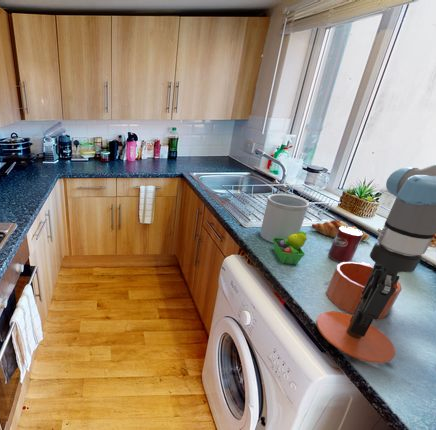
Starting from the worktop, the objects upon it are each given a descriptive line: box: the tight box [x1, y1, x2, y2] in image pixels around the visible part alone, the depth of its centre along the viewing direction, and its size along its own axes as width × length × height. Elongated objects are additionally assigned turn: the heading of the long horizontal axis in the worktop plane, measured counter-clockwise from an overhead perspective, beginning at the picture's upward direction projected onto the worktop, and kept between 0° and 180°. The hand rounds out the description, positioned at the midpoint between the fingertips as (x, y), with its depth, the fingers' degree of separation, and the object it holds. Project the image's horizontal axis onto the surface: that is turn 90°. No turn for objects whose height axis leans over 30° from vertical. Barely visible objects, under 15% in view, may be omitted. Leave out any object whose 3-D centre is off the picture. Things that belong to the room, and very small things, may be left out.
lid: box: [315, 299, 396, 364], centre depth 70 cm, size 16×16×11 cm
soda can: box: [327, 227, 363, 264], centre depth 106 cm, size 7×7×12 cm
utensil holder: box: [259, 193, 310, 244], centre depth 119 cm, size 15×15×18 cm
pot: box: [326, 261, 402, 320], centre depth 85 cm, size 15×20×10 cm
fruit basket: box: [273, 230, 308, 265], centre depth 106 cm, size 11×9×11 cm
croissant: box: [311, 219, 372, 241], centre depth 124 cm, size 21×10×8 cm, turn 65°
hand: (356, 328), depth 71 cm, fingers closed on lid, 3 cm apart
